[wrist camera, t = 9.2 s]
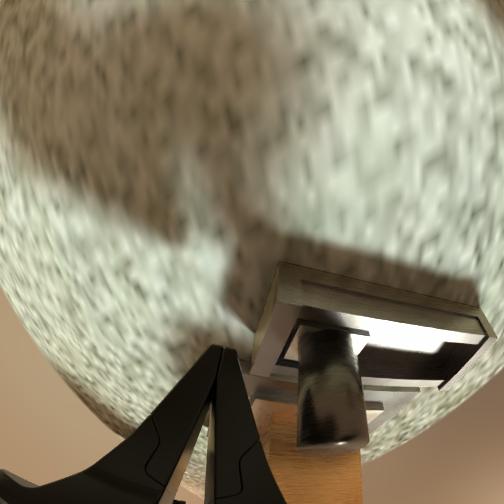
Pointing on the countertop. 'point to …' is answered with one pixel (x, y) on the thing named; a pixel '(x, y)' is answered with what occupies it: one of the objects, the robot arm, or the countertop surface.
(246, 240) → the countertop surface
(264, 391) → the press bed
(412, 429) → the countertop surface
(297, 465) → the block
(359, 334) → the lever
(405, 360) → the lever track
